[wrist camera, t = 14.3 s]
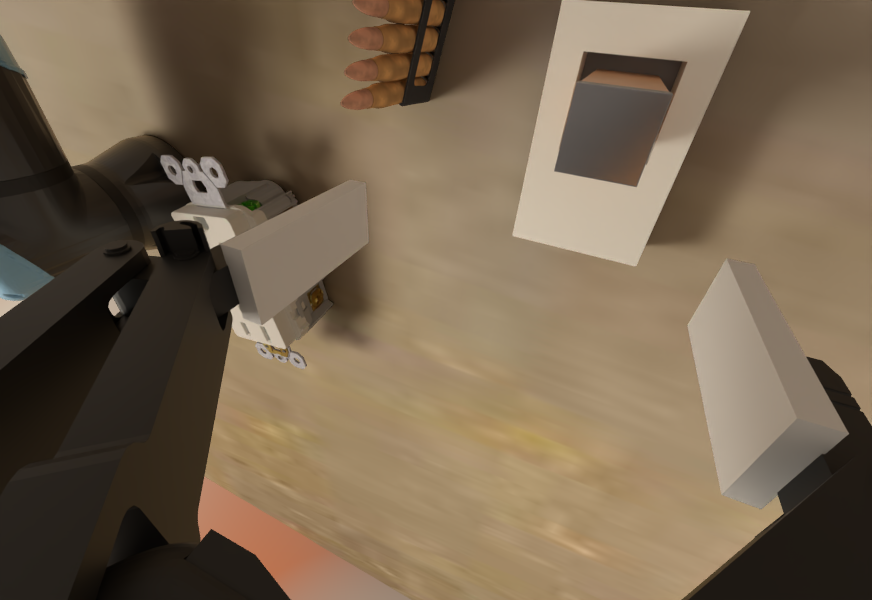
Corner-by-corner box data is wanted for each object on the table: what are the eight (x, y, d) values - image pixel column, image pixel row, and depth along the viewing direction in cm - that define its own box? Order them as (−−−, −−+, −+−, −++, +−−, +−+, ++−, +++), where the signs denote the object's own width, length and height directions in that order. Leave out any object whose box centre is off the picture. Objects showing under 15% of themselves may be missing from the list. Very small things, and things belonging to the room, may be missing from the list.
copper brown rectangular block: (579, 130, 29) (553, 171, 20) (596, 67, 27) (576, 82, 18) (636, 139, 28) (636, 187, 19) (659, 75, 25) (673, 94, 16)
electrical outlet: (290, 134, 40) (214, 163, 33) (350, 333, 57) (309, 381, 50) (213, 133, 45) (131, 159, 38) (290, 319, 62) (244, 361, 54)
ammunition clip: (446, -67, 27) (350, -121, 18) (469, -58, 27) (383, -108, 18) (410, 93, 34) (327, 113, 25) (428, 102, 33) (351, 124, 24)
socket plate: (522, 219, 36) (512, 235, 33) (570, 3, 26) (562, -1, 23) (635, 245, 33) (635, 266, 30) (735, 14, 23) (750, 11, 20)
